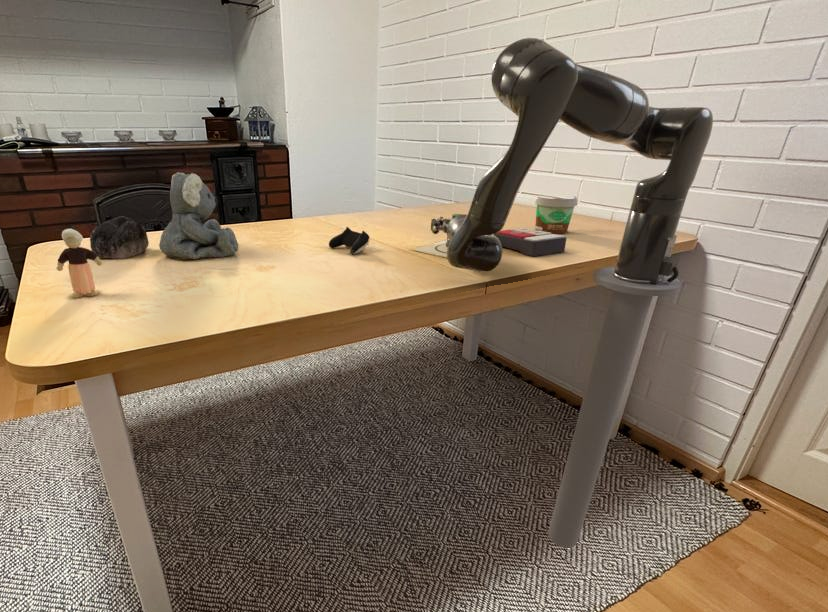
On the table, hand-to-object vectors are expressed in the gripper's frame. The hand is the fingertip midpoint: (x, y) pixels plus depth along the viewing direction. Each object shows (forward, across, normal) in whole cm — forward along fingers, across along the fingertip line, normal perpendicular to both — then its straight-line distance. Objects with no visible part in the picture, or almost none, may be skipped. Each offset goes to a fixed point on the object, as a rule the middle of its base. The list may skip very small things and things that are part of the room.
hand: (457, 220), depth 122 cm
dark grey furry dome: (-15, -86, -7) cm, 87 cm away
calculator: (-1, +19, -7) cm, 20 cm away
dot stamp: (-2, 0, -6) cm, 7 cm away
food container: (+19, +31, -7) cm, 37 cm away
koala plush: (-13, -66, -7) cm, 68 cm away
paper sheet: (-4, 0, -7) cm, 8 cm away
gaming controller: (-6, -28, -7) cm, 29 cm away
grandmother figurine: (-46, -75, -7) cm, 88 cm away
